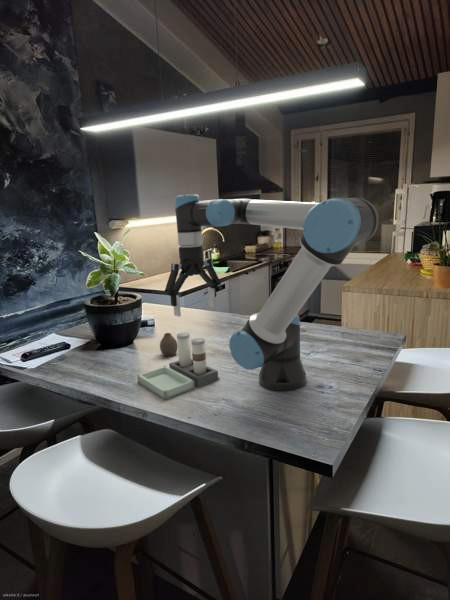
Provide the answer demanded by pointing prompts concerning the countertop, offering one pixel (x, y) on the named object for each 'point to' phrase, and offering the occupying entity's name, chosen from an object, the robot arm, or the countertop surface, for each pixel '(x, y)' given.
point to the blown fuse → (199, 356)
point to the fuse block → (198, 380)
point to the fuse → (184, 350)
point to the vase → (168, 345)
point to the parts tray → (166, 382)
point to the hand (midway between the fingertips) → (195, 311)
